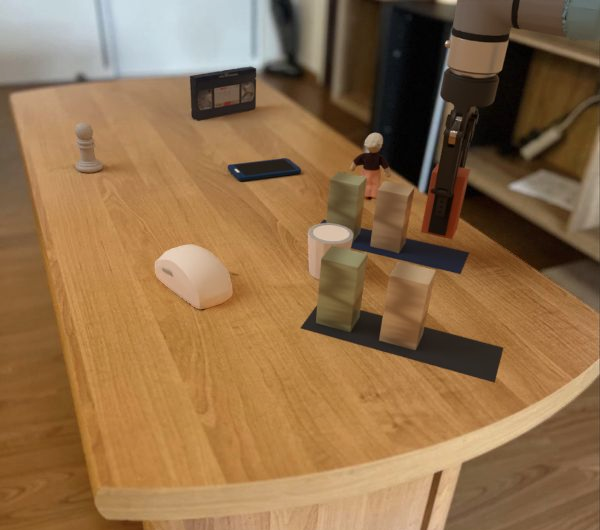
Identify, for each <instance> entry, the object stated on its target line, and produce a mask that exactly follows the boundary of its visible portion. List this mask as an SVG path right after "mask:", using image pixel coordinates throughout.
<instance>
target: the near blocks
mask: <svg viewBox="0 0 600 530" xmlns="http://www.w3.org/2000/svg"><path fill="white" fill-rule="evenodd" d="M368 255H369V254H368V253H366V252H362V251H358V250H354V249H351V250H348V249H344V248H340V247H336V246H331V247H330V248H329V250H328V251H327V252H326V253H325V255H324V256H323V257H322V258H321V267H320V279H318V294H317V304H316V306H317V316H316V323H318V324H321V325H325V326H328V327H332V328H336V329H339V330H343V331H347V332H351V331H352V329H353V327H354V326H355V324H356V322H357V321H358V319H359V317H360V310H362V309H361V307H362V301H363V292H364V285H365V277H366V272H367V264H368ZM436 273H437V270H436V269H434V268H430V267H426V266H421V265H417V264H413V263H409V262H404V261H400V260H398V261H397V262H396V264H395V265H394V267H393V268H392V270H391V272H390V273H389V275H388V282H387V287H386V293H385V300H384V307H383V313H382V316H383V319H382V325H381V331H380V338H379V341H383V342H386V343H390V344H394V345H397V346H401V347H405V348H408V349H412V350H416V349H417V346H418V344H419V342H420V340H421V337H422V335H423V331H424V327H426V321H427V316H428V310H429V307H430V302H431V297H432V294H433V293H432V292H433V288H434V283H435V278H436Z"/></svg>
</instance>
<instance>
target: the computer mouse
mask: <svg viewBox="0 0 600 530" xmlns="http://www.w3.org/2000/svg"><path fill="white" fill-rule="evenodd" d="M154 272H155V276H156V279H157V280H158V281H159V282H160V283H162V284H163V285H164V286H165V287H167V288H168V289H169V290H170V291H172V292H173V293H175V294H176V295H177V296H178V297H180V298H181V299H182V298H183V300H184V301H185V302H186V301H187V302H186V303H188V304H189V303H190V304H191V305H190V304H189V305H190V306H191V307H193V308H194V307H195V308H194V309H197V310H204V309H207V308H212V307H216V306H218V305H221V304H223V303H225V302H228V300H229V299H230V298H231V297H232V296H233V293H234V292H233V283H232V279H231V275H230V272H229V270H228V269H227V267H226V266H225V265H224V264H223V262H222V261H221V260H220V259H219V258H218V257H217V256H216V255H214V253H212V251H210V250H208V249H207V248H205V247H202V246H200V245H197V244H192V243H190V244H189V243H188V244H183V245H179V246H175V247H173V248H170V249H168V250H165V251H164V252H163V253H162V255H160V256H159V257H158V258H157V259H156V260H155V261H154Z"/></svg>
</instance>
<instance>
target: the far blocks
mask: <svg viewBox="0 0 600 530" xmlns="http://www.w3.org/2000/svg"><path fill="white" fill-rule="evenodd" d="M366 180H367V177H363V176H361V175H358V174H354V173H347V172H342V171H337V172H336V173H334V175H333V176H332V177H331V178H330V179H329V185H328V197H327V210H326V218H325V220H326V223H333V224H339V225H342V226H345V227H347V228H349V229H350V230H351V231H352V232H353V233H354V235H353V240H352V242H354V240H355V239H356V238H357V236H358V235H359V234H360V230H361V228H362V221H363V213H364V211H363V210H364V206H365V205H364V204H365V200H364V197H365V189H366ZM415 189H416V188H415V186H411V185H407V184H402V183H397V182H391V181H387V180H384V181H383V182H382V184H380V187H379V189H378V191H377V199H376V202H375V209H374V214H373V222H372V229H371V230H372V236H371V244H370V247H375V248H379V249H383V250H388V251H392V252H396V253H399V252H400V251H401V249H402V248H403V246H404V244H405V242H406V238H407V235H408V229H409V225H410V224H409V223H410V217H411V211H412V206H413V200H414V194H415Z"/></svg>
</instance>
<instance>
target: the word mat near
mask: <svg viewBox="0 0 600 530" xmlns="http://www.w3.org/2000/svg"><path fill="white" fill-rule="evenodd" d="M316 316H317V305H316V306H315V307H314V308H313V310H312V311H311V312H310V314H309V315H308V316H307V318H306V319H305V321H303V323H302V325H301V326H300V330H304V331H308V332H312V333H316V334H319V335H322V336H326V337H329V338H332V339H337V340H341V341H344V342H347V343H351V344H355V345H358V346H361V347H365V348H369V349H373V350H376V351H379V352H383V353H387V354H390V355H394V356H398V357H402V358H405V359H409V360H412V361H415V362H419V363H423V364H426V365H430V366H434V367H437V368H440V369H444V370H448V371H451V372H455V373H458V374H462V375H465V376H466V375H467V376H469V377H473V378H477V379H481V380H484V381H487V382H492V383H493V384H495V383H496V379H497V375H498V371H499V367H500V364H501V363H500V362H501V359H502V355H503V351H504V347H503V346H499V345H495V344H491V343H488V342H484V341H480V340H476V339H472V338H468V337H466V336H461V335H458V334H454V333H450V332H445V331H441V330H438V329H435V328H431V327H427V326H424V331H423V335H422V337H421V340H420V342H419V344H418V346H417V349H416V350H412V349H408V348H405V347H401V346H397V345H394V344H390V343H386V342H383V341H379V338H380V331H381V325H382V319H383V314H382V315H381V314H378V313H375V312H370V311H366V310H362V309H360V317H359V319H358V321H357V322H356V324H355V326H354V327H353V329H352V331H351V332H347V331H343V330H339V329H336V328H332V327H328V326H325V325H321V324H318V323H316Z"/></svg>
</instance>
